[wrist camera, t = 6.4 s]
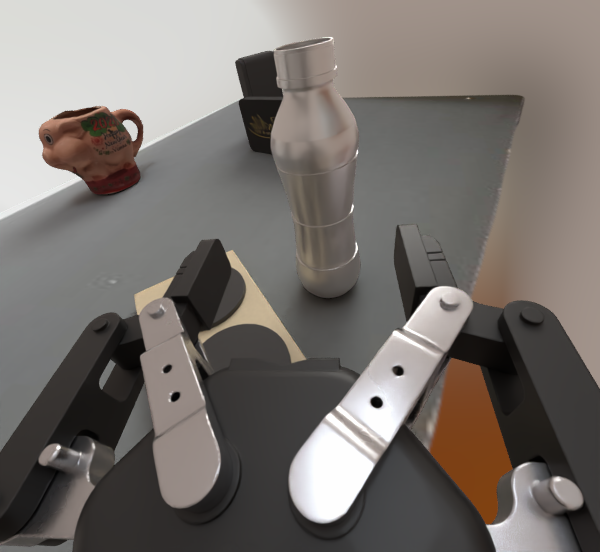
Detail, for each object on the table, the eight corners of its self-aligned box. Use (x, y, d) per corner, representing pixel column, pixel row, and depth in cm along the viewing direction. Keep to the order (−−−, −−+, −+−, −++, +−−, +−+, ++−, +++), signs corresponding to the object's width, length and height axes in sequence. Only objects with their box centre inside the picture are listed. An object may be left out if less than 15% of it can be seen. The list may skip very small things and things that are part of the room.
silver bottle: (295, 306, 28) (233, 63, 15) (304, 261, 33) (264, 45, 19) (360, 307, 27) (359, 41, 13) (360, 260, 32) (359, 27, 18)
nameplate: (336, 158, 52) (332, 97, 45) (330, 162, 51) (326, 100, 44) (257, 147, 63) (244, 96, 56) (251, 150, 62) (237, 99, 55)
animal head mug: (142, 160, 69) (106, 95, 60) (176, 162, 64) (143, 92, 55) (66, 201, 58) (6, 129, 48) (100, 209, 53) (42, 129, 43)
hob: (178, 512, 18) (157, 507, 16) (141, 303, 32) (127, 287, 30) (334, 405, 21) (331, 390, 19) (236, 258, 35) (229, 241, 34)
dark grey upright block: (281, 120, 75) (268, 49, 64) (289, 123, 72) (277, 49, 62) (251, 131, 72) (232, 59, 62) (258, 134, 69) (240, 59, 59)
